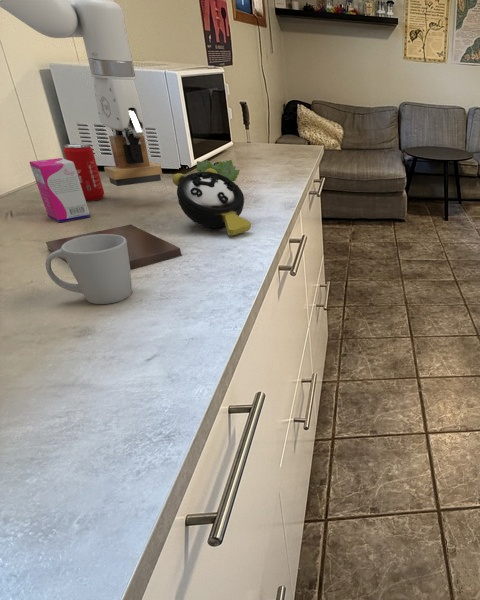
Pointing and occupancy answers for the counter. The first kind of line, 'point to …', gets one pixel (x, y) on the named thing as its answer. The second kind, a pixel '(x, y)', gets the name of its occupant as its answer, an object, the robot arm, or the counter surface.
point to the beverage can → (85, 170)
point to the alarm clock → (211, 200)
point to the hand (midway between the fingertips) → (131, 161)
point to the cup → (96, 267)
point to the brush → (130, 165)
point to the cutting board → (132, 245)
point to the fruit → (220, 168)
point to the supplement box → (60, 189)
